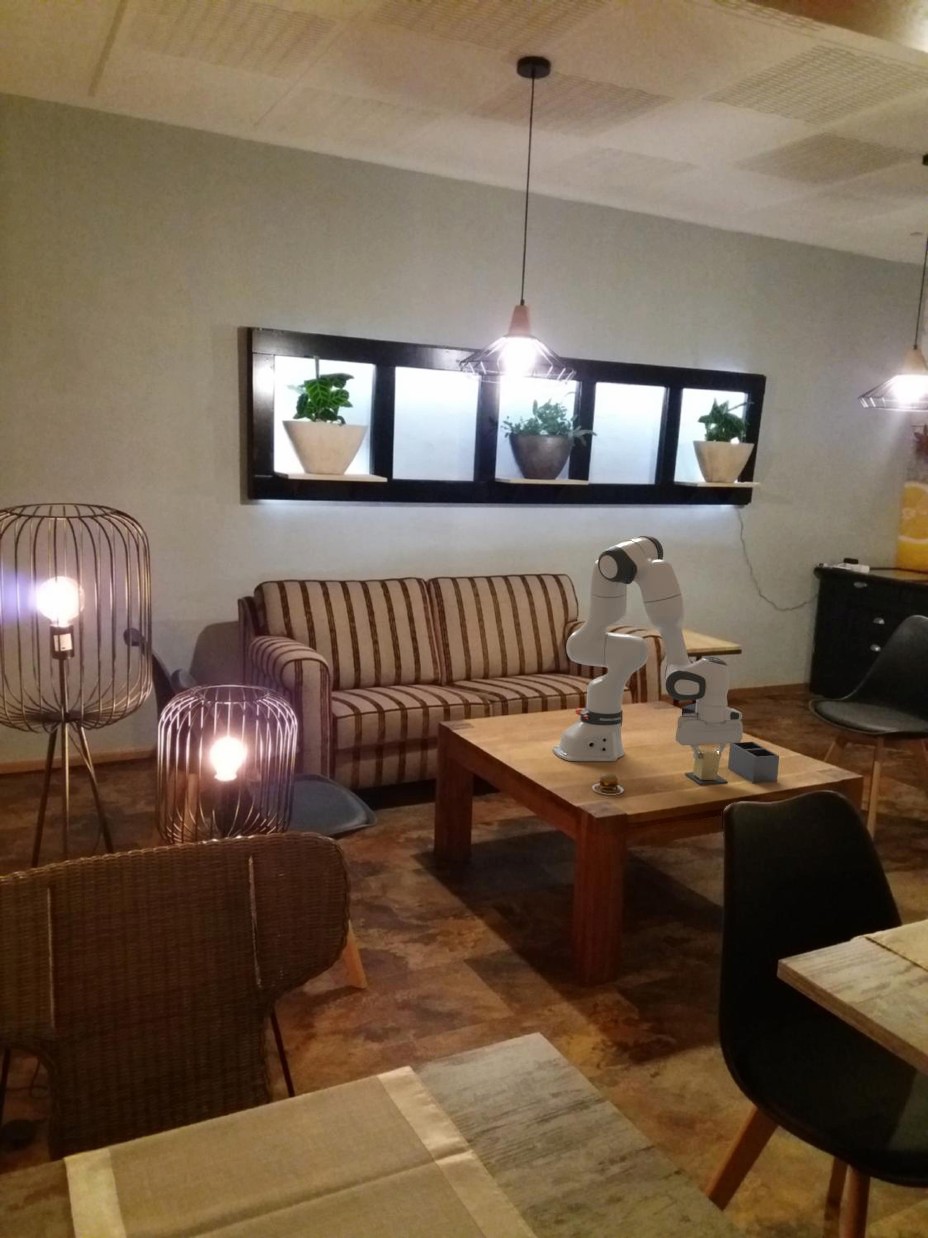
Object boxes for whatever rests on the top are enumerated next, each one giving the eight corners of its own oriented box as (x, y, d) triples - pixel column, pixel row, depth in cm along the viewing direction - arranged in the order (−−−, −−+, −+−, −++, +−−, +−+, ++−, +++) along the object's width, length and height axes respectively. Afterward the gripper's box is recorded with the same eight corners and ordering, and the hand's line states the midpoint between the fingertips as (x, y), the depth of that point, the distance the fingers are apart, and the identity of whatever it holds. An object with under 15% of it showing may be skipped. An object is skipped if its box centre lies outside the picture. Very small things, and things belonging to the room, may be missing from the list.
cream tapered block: (700, 779, 277) (705, 753, 276) (692, 774, 282) (697, 748, 280) (716, 780, 278) (720, 754, 277) (708, 774, 283) (712, 749, 282)
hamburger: (598, 782, 277) (599, 764, 276) (636, 791, 271) (637, 773, 270) (578, 793, 268) (579, 774, 267) (617, 803, 261) (618, 784, 260)
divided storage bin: (752, 783, 278) (755, 757, 277) (727, 767, 292) (730, 742, 290) (776, 781, 280) (779, 755, 279) (751, 766, 294) (753, 741, 292)
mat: (699, 785, 275) (699, 783, 275) (684, 774, 284) (685, 773, 284) (727, 783, 278) (727, 781, 278) (711, 773, 286) (711, 771, 286)
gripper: (683, 716, 271) (680, 763, 274) (747, 714, 277) (743, 759, 279) (673, 710, 277) (670, 756, 280) (736, 708, 283) (732, 752, 285)
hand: (707, 757), depth 279 cm, fingers open, 5 cm apart
